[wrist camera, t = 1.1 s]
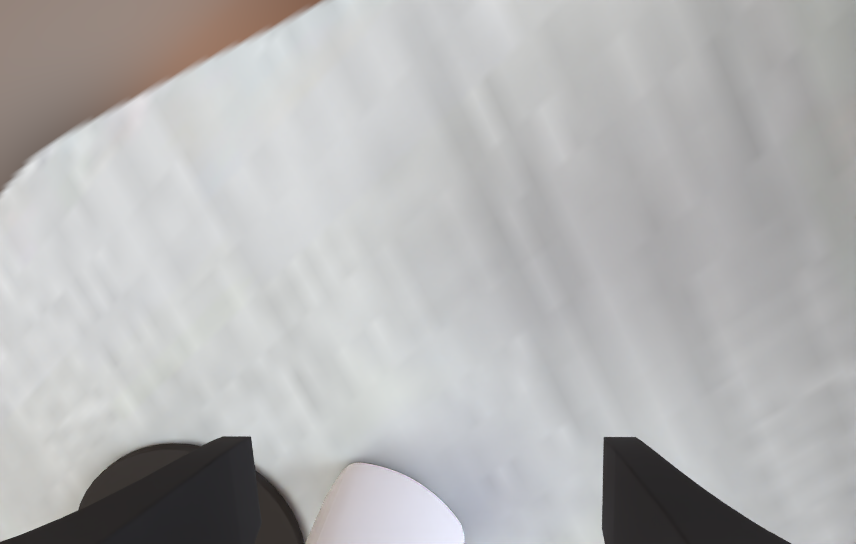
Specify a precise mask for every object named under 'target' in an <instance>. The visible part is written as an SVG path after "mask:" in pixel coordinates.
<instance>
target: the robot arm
mask: <svg viewBox="0 0 856 544" xmlns="http://www.w3.org/2000/svg"><path fill="white" fill-rule="evenodd" d="M261 524H262V521H261V513H260V505H259V497H258V489H257V481H256V473H255V465H254V457H253V449H252V441H251V437H221V438H218V439H216V440H213V441H211V442H209V443H207V444H205V445H203V446H201V447H199V448H197V449H195V450H193V451H191V452H189V453H188V454H186V455H184V456H182V457H180V458H178V459H177V460H175V461H173V462H171V463H169V464H167V465H166V466H164V467H162V468H160V469H158V470H156V471H155V472H153V473H151V474H149V475H147V476H145V477H144V478H142V479H140V480H138V481H136V482H134V483H132V484H130V485H128V486H126V487H124V488H122V489H120V490H118V491H116V492H115V493H113V494H111V495H109V496H107V497H105V498H103V499H101V500H99V501H97V502H95V503H93V504H91V505H89V506H87V507H85V508H82V509H80V510H78V511H76V512H74V513H72V514H69V515H67V516H65V517H63V518H60V519H58V520H56V521H53V522H51V523H48V524H46V525H44V526H41V527H39V528H36V529H34V530H32V531H29V532H27V533H24V534H21V535H19V536H16V537H13V538H10V539H8V540H5V541H2V542H0V544H254V543H255V540H256V538H257V535H258V532H259V529H260V527H261ZM602 531H603V536H604V541H605V544H791V543H789V542H787V541H786V540H784V539H782V538H780V537H778V536H777V535H775V534H773V533H771V532H769V531H767V530H766V529H764V528H762V527H761V526H759V525H757V524H756V523H754V522H752V521H751V520H749V519H748V518H746V517H745V516H743V515H742V514H740V513H739V512H737V511H735V510H734V509H732V508H731V507H729V506H728V505H726V504H725V503H723V502H722V501H720V500H719V499H717V498H716V497H715V496H713V495H712V494H710V493H709V492H707V491H706V490H705V489H703V488H702V487H701V486H699V485H698V484H696V483H695V482H694V481H692V480H691V479H690V478H688V477H687V476H686V475H685V474H683V473H682V472H681V471H679V470H678V469H677V468H675V467H674V466H673V465H672V464H670V463H669V462H668V461H666V460H665V459H664V458H663V457H661V456H660V455H659V454H658V453H656V452H655V451H654V450H652V449H651V448H650V447H649V446H647V445H646V444H645V443H643V442H642V441H641V440H639V439H638V438H636V437H604V455H603V506H602Z"/></svg>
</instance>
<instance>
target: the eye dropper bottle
mask: <svg viewBox="0 0 856 544" xmlns="http://www.w3.org/2000/svg"><path fill="white" fill-rule="evenodd" d="M305 544H464V532H463V529H462V526H461V524H460V522H459V520H458V519H457V517H456V516H455V515H454V514H453V512H452V511H451V510H450V509H449V508H448V507H447V505H446V504H445V503H444V502H443V501H442V500H441V499H439V498H438V497H437V496H436V495H435V494H434V493H433V492H431V491H430V490H429V489H427V488H426V487H425V486H423V485H422V484H420V483H419V482H417V481H415V480H413V479H412V478H410V477H408V476H406V475H404V474H401V473H399V472H396V471H394V470H391V469H388V468H385V467H381V466H377V465H373V464H368V463H360V462H359V463H353V464H350V465H349V466H347V467H346V468H345V469H344V470H343V471H342V472H341V473H340V475H339V476H338V478H337V479H336V481H335V482H334V484H333V485H332V487H331V489H330V490H329V492H328V494H327V495H326V497H325V500H324V502H323V504H322V506H321V509H320V511H319V513H318V515H317V518H316V520H315V522H314V525H313V527H312V529H311V531H310V534H309V536H308V538H307V541H306V543H305Z"/></svg>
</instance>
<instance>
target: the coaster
mask: <svg viewBox="0 0 856 544" xmlns="http://www.w3.org/2000/svg"><path fill="white" fill-rule="evenodd" d="M199 447H201V446H195V445H188V444H163V445H156V446H151V447H146V448H143V449H140V450H137V451H134V452H131V453H129V454H128V455H126V456H124V457H122V458H120V459H118V460H117V461H116V462H114V463H113V464H112V465H110V466H109V467H108V468H107V469H105V470H104V471H103V472H102V473H101V474H100V475H99V476H98V477H97V478H96V479H95V480H94V481H93V483H92V484H91V486H90V487H89V488H88V490H87V491H86V493H85V495H84V497H83V499H82V501H81V503H80V506H79V509H78V510H80V509H82V508H85V507H87V506H89V505H91V504H93V503H95V502H97V501H99V500H101V499H103V498H105V497H107V496H109V495H111V494H113V493H115V492H116V491H118V490H120V489H122V488H124V487H126V486H128V485H130V484H132V483H134V482H136V481H138V480H140V479H142V478H144V477H145V476H147V475H149V474H151V473H153V472H155V471H156V470H158V469H160V468H162V467H164V466H166V465H167V464H169V463H171V462H173V461H175V460H177V459H178V458H180V457H182V456H184V455H186V454H188V453H189V452H191V451H193V450H195V449H197V448H199ZM255 473H256V481H257V489H258V497H259V505H260V513H261V521H262V524H261V527H260V529H259V532H258V535H257V538H256V540H255V543H254V544H304V543H303V537H302V534H301V531H300V528H299V526H298V523H297V521H296V519H295V517H294V515H293V513H292V511H291V509H290V508H289V506H288V505H287V503H286V502H285V500H284V499H283V497H282V496H281V495H280V494H279V493H278V492H277V490H276V489H275V488H274V487H273V486H272V485H271V484H270V483H269V482H268V481H267V480H266V479H265V478H264V477H263V476H261V475H260V474H259V473H257V472H256V471H255Z"/></svg>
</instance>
